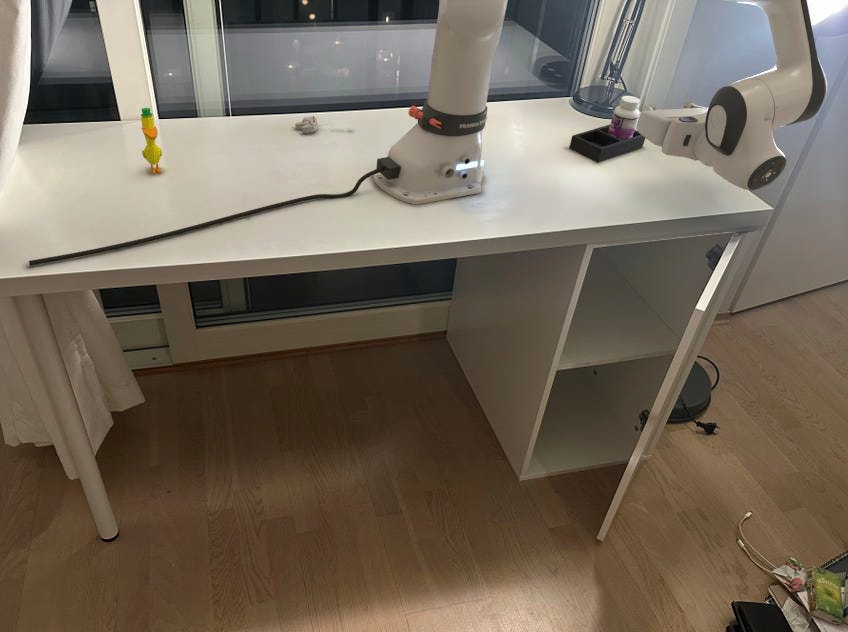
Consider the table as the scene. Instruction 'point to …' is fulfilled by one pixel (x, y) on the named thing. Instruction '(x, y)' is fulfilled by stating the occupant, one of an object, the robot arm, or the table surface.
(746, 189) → the robot arm
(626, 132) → the pill bottle
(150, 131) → the toy figure
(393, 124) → the table surface
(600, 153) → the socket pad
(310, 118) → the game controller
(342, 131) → the table surface
